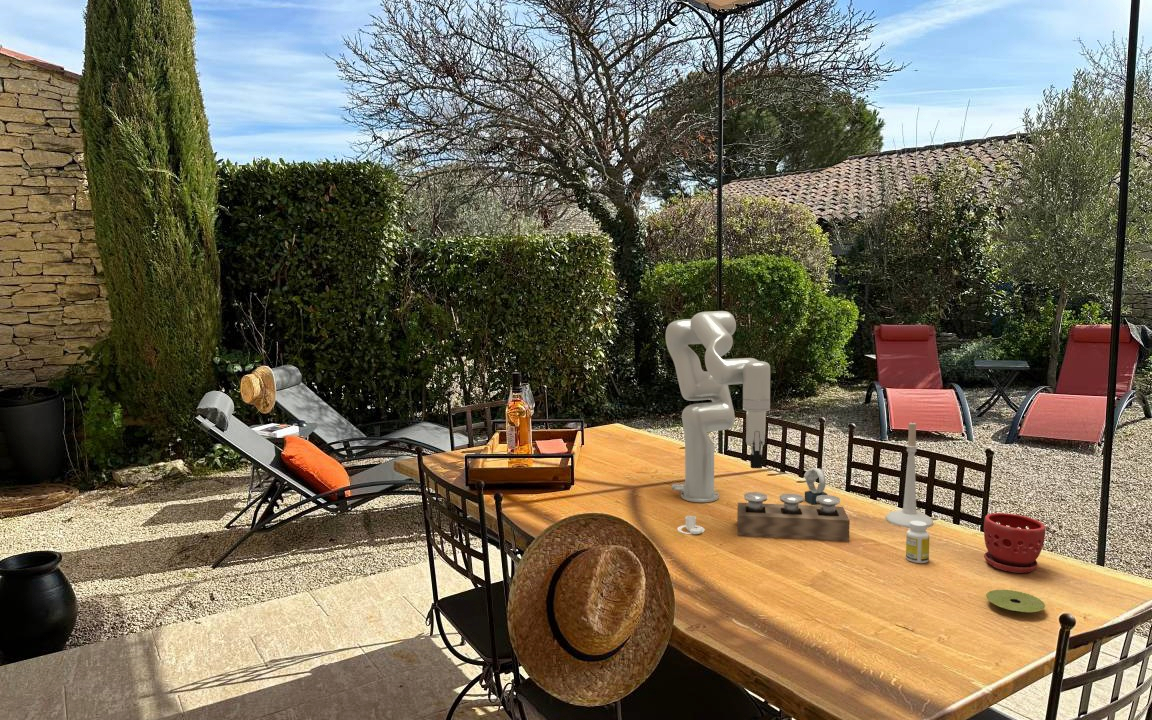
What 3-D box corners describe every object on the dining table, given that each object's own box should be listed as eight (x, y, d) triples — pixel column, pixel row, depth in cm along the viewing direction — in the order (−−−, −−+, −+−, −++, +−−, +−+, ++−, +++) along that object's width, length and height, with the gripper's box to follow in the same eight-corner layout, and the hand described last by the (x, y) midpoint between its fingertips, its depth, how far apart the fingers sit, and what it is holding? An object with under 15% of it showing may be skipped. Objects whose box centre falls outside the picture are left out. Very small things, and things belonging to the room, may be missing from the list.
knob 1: (744, 516, 213) (744, 498, 213) (743, 509, 219) (744, 491, 219) (767, 517, 212) (767, 499, 211) (766, 510, 218) (766, 492, 217)
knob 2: (817, 519, 209) (817, 501, 209) (814, 512, 215) (814, 494, 215) (841, 520, 208) (841, 502, 207) (837, 513, 214) (838, 495, 213)
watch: (816, 497, 245) (817, 465, 244) (830, 504, 237) (830, 471, 236) (801, 499, 244) (801, 466, 242) (814, 506, 236) (815, 472, 235)
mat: (1021, 624, 156) (1021, 615, 156) (974, 603, 167) (974, 594, 166) (1056, 613, 161) (1057, 605, 161) (1008, 593, 171) (1008, 585, 171)
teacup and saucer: (704, 537, 212) (704, 523, 211) (676, 536, 214) (676, 522, 213) (705, 527, 220) (705, 513, 220) (678, 525, 222) (678, 512, 222)
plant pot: (1022, 581, 178) (1024, 532, 176) (970, 562, 189) (972, 517, 188) (1054, 570, 184) (1057, 523, 182) (1003, 552, 195) (1005, 508, 194)
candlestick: (876, 517, 224) (879, 420, 221) (907, 511, 229) (911, 415, 226) (910, 530, 213) (914, 427, 209) (943, 524, 218) (946, 423, 214)
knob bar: (738, 535, 211) (738, 515, 211) (737, 521, 223) (737, 502, 222) (849, 541, 205) (849, 520, 205) (842, 526, 217) (842, 506, 216)
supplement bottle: (927, 557, 193) (928, 520, 192) (929, 564, 188) (931, 527, 187) (904, 554, 195) (905, 518, 194) (906, 562, 190) (907, 525, 189)
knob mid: (780, 518, 211) (780, 499, 211) (778, 511, 217) (779, 493, 217) (803, 519, 210) (804, 500, 209) (801, 512, 216) (802, 494, 215)
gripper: (742, 400, 220) (742, 461, 222) (743, 409, 205) (743, 474, 207) (768, 400, 218) (768, 461, 220) (771, 409, 204) (771, 474, 206)
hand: (756, 467), depth 214 cm, fingers closed
